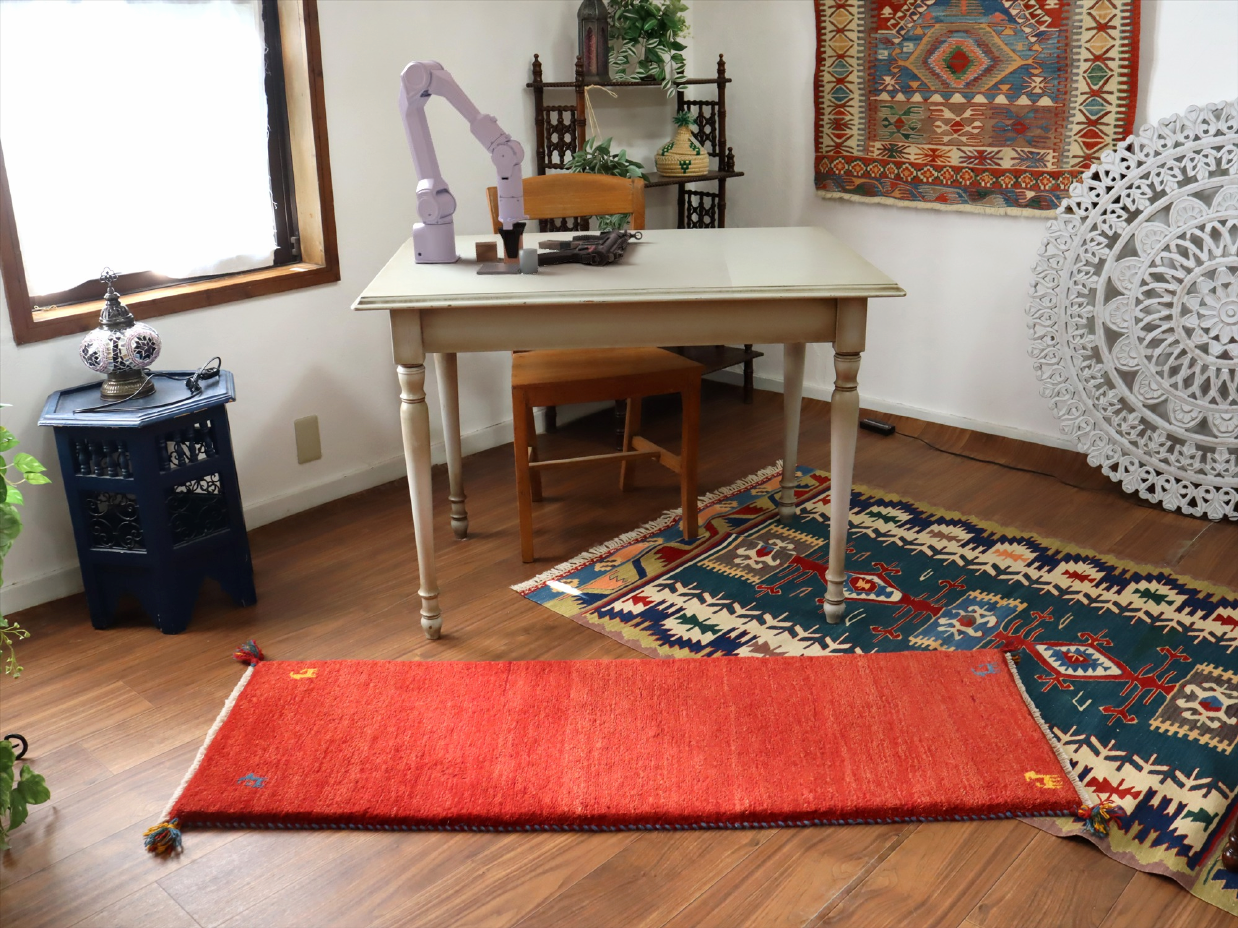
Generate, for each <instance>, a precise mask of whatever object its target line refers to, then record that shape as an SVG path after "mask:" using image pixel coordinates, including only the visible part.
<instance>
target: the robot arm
mask: <svg viewBox="0 0 1238 928" xmlns="http://www.w3.org/2000/svg"><path fill="white" fill-rule="evenodd" d="M399 78H400V83H401V84H400V89H399V94H398V98H397V99H398V100H397V103H398V109H399V113H400V116H401V121H402V123H403V127H404V131H405V135H406V138H407V144H408V146H409V151H410V154H411V158H412V161H413V162H412V163H413V165H414V170H415V173H416V176H417V181H418V184H417V186H416V191H415V196H416V200H417V201H416V205H415V209H416V214H417V215H418V217H419V218H420V220H421V222H415V223H414V224H413V226H412V241H413V250H414V263H415V264H423V263H425V264H426V263H430V264H431V263H434V264H435V263H436V264H437V263H456V261H457V260H459V258H460V257H461V254H460V253H459V254H458V253H457V252H456V251H457V250H456V238H455V237H456V236H455V225H454V224H455V223H454V218H453V215H454V214H455V212H456V211H457V207H458V206H457V205H458V204H457V200H456V197H455V196H454V194H453V193H452V192H451V190H450V187H449V184H448V182H446V180H444V178H443V177H442V174H441V170H440V165H439V162H438V159H437V155H436V150H435V146H434V143H433V138H432V135H431V131H430V127H429V123H428V120H427V115H426V111H425V106H426V104H427V103H428V101H429V100H430V98H431V96H438V97H442V98H445V100H446V101H447V102H448V103H449V104H450V105H451V106H452V107H453V108H454V109H455V110H456V111H457V112H458V113H459V114H460V115H461V116H462V117H463V118H464V119H465V120H466V121H467V122H468V123H469V130H470V134H472V136H473V137H474V138H475V139H476V140H477V141H478V142H479V144H481V145H482V146H483V148H484V149H485V150H486V151H487V152H488V153H489V154H491V155H490V159H491V162H492V164H493V166H495V170H496V186H497V205H498V218H497V219H498V221H499V222H501V223H502V224H501V226H498V228H497V232H498V233H499V236H500V237H501V239H502V243H503V242H504V246H505V249H506V253H507V257H508V258H517V256H518V249H519V240H520V235H523V236H524V232H525V229H526V226H527V222H526V221H524V220H530V214H529V215H528V214H525V207H524V206H525V204H524V190H523V188H524V185H523V173H522V171H523V170H522V163H523V161H524V159H525V150H524V148H523V146H522V144H521V142H520V141H519V140H516V139H513V137H512V135H511V134H510V133H506V132H505V130H504V129H503V128H502V127H501V126H500V125H499V124H498V123H497V122H498V118H497V117H496V116H495V115H493V116H491V114H489V113H481V111H480V110H479V109H478V108H477V107H476V105H475V104H474V102H472V100H471V99H470V98H469V96H468V95H467V94H466V93H465V91H464V90H463V89H462V88H461V86H459V84H458V83H457V81H456V80H455V79H454V77H453V76H452V74H451V73H450V72H449V71H448V70H447V69H445V67H444V66H443V65H442V64H441V63H440V62H439V61H436V60H427V61H426V60H425V61H423V60H422V61H418V60H414V61H410V62H409V63H408V64H407V65H406V66H405V67H404V69H403V70H402V72H401V73H400V75H399Z"/></svg>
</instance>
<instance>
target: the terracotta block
mask: <svg viewBox="0 0 1238 928" xmlns="http://www.w3.org/2000/svg"><path fill="white" fill-rule="evenodd" d="M523 236H524V234H523V235H520V240H519V249H518V256H517V258H508V257H507V253H506V249H505V246H504V242H503V241H502V244H503V260H504V261H503V262H504V263H503V264H513V263H520V258H519V250H520V249H524V238H523Z"/></svg>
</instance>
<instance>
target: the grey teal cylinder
mask: <svg viewBox="0 0 1238 928" xmlns="http://www.w3.org/2000/svg"><path fill="white" fill-rule="evenodd" d="M538 254H539V253H538V249H537V248H533V247H532V248H531V247H530V248H526V247H525V248H523V249H520V250H519V258H520V270H519V273H520V274H521V273H523V274H522V275H534V274H533V273H536V274H539V267H538Z"/></svg>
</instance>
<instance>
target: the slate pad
mask: <svg viewBox="0 0 1238 928" xmlns="http://www.w3.org/2000/svg"><path fill="white" fill-rule="evenodd" d="M518 273H520V263H513V264H505V263H483V264H481V266H480V267H479V268H478V269H477V270H476V275H517V274H518Z"/></svg>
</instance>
